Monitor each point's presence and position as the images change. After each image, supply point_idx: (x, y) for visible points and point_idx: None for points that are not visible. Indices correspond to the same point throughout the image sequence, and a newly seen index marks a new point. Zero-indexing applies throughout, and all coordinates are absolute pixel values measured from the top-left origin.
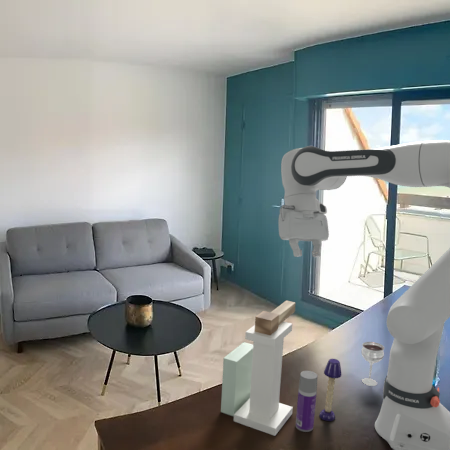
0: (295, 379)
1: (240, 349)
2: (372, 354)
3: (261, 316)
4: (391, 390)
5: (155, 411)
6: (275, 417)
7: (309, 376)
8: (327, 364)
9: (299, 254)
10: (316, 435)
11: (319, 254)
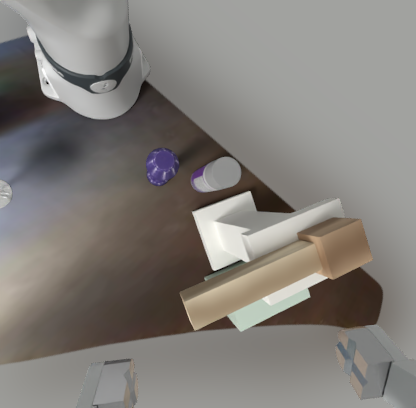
0: (108, 279)
1: (266, 308)
2: None
3: (362, 252)
4: (131, 53)
5: (321, 318)
6: (232, 208)
7: (231, 167)
8: (174, 169)
9: (377, 327)
10: (204, 158)
11: (103, 368)
